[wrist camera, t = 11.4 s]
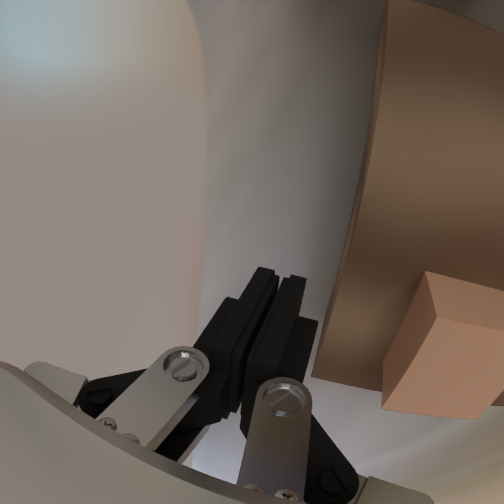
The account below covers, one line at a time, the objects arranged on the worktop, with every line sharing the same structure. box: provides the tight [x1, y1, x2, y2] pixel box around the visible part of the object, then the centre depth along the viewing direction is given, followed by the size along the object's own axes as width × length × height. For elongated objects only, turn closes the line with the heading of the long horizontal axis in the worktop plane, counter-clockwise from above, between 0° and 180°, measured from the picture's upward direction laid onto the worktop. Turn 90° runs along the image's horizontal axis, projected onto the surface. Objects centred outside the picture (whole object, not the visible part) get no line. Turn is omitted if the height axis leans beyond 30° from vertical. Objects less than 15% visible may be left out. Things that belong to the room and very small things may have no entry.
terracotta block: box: [381, 271, 504, 420], centre depth 9 cm, size 4×4×2 cm
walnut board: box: [311, 0, 504, 406], centre depth 10 cm, size 15×12×4 cm
